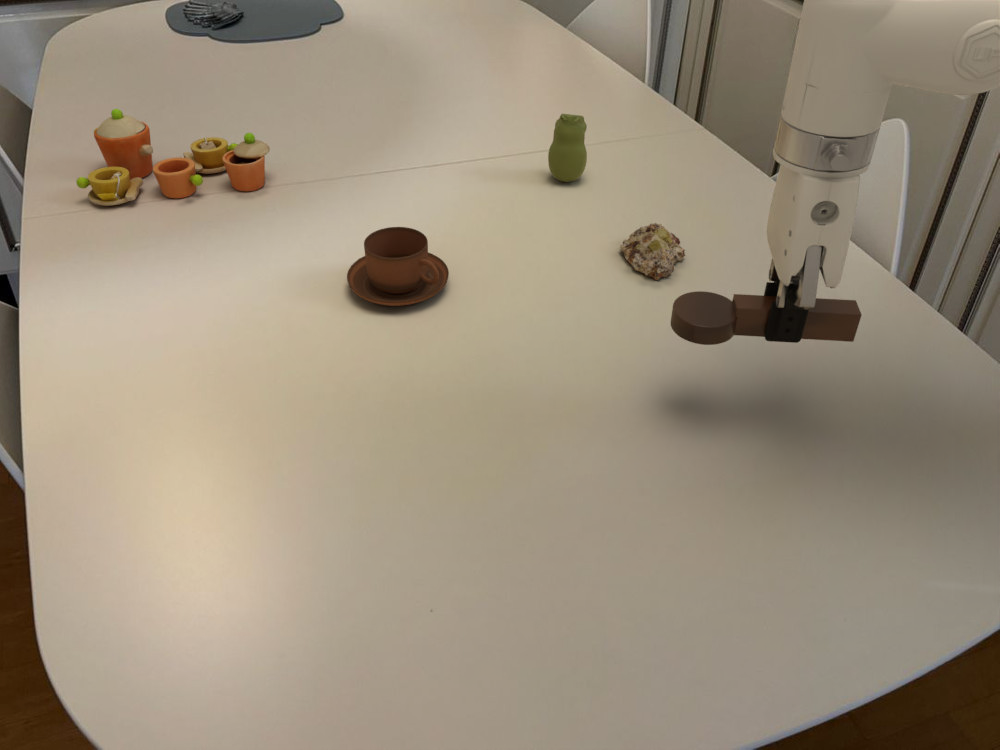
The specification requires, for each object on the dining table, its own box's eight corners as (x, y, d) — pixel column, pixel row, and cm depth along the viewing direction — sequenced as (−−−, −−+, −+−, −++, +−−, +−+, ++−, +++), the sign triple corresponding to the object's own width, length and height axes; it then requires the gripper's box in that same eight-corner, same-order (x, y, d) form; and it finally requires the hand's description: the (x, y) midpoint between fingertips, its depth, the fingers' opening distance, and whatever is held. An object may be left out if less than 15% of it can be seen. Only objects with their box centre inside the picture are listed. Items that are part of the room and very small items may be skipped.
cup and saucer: (461, 269, 106) (461, 225, 102) (429, 322, 97) (427, 276, 93) (371, 255, 108) (367, 211, 104) (332, 305, 99) (325, 259, 95)
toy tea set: (79, 213, 116) (57, 146, 110) (94, 166, 128) (75, 102, 122) (275, 195, 121) (265, 130, 115) (272, 151, 133) (262, 89, 127)
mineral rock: (616, 220, 111) (678, 208, 109) (622, 248, 114) (683, 237, 112) (618, 265, 103) (685, 253, 101) (624, 295, 106) (690, 283, 104)
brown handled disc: (672, 343, 78) (676, 316, 76) (668, 307, 83) (672, 280, 81) (857, 353, 77) (866, 326, 75) (843, 316, 81) (851, 289, 80)
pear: (544, 185, 125) (547, 118, 118) (551, 170, 129) (554, 105, 122) (582, 189, 124) (587, 123, 117) (587, 174, 128) (593, 109, 121)
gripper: (899, 188, 62) (838, 386, 73) (850, 106, 74) (804, 286, 86) (793, 184, 62) (748, 381, 74) (762, 103, 75) (728, 282, 86)
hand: (779, 328), depth 79 cm, fingers closed on brown handled disc, 2 cm apart
